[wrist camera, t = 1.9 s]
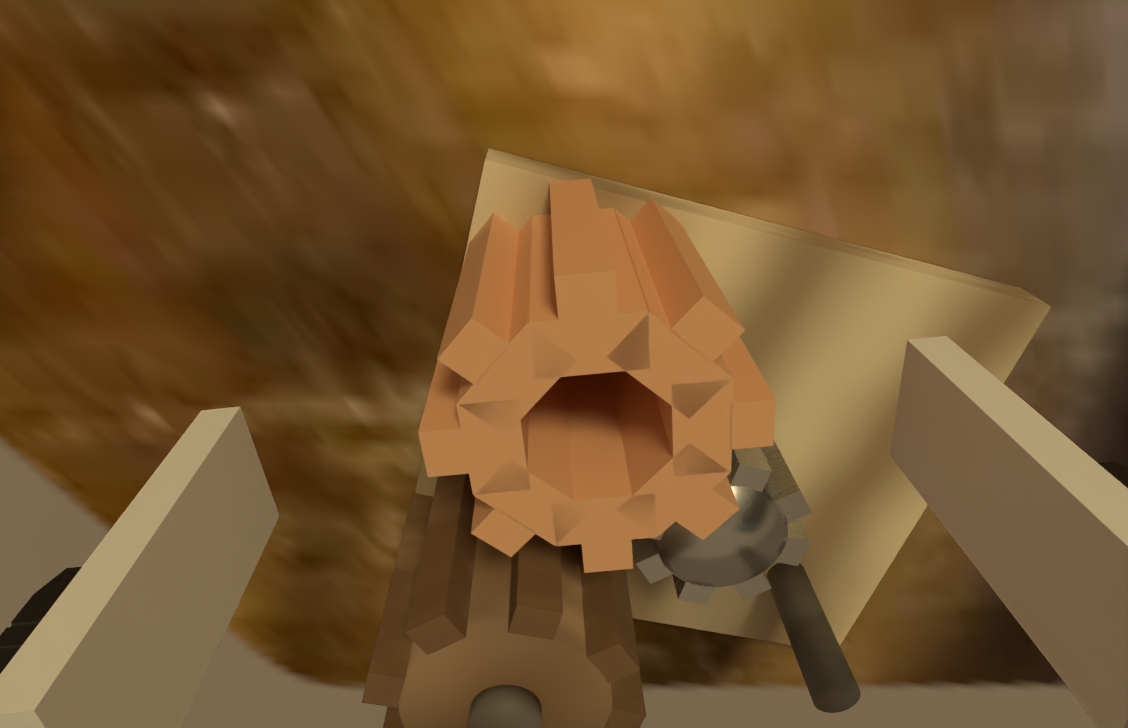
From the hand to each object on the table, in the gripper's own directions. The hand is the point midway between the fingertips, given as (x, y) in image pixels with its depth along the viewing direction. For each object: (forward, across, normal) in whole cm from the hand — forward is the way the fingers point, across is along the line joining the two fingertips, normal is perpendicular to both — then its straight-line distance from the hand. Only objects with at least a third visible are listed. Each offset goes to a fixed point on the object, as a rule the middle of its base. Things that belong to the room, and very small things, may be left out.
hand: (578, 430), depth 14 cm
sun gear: (+7, -4, +6) cm, 10 cm away
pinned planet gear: (+7, +2, +8) cm, 11 cm away
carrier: (+8, -4, +6) cm, 11 cm away
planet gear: (+7, 0, 0) cm, 7 cm away
